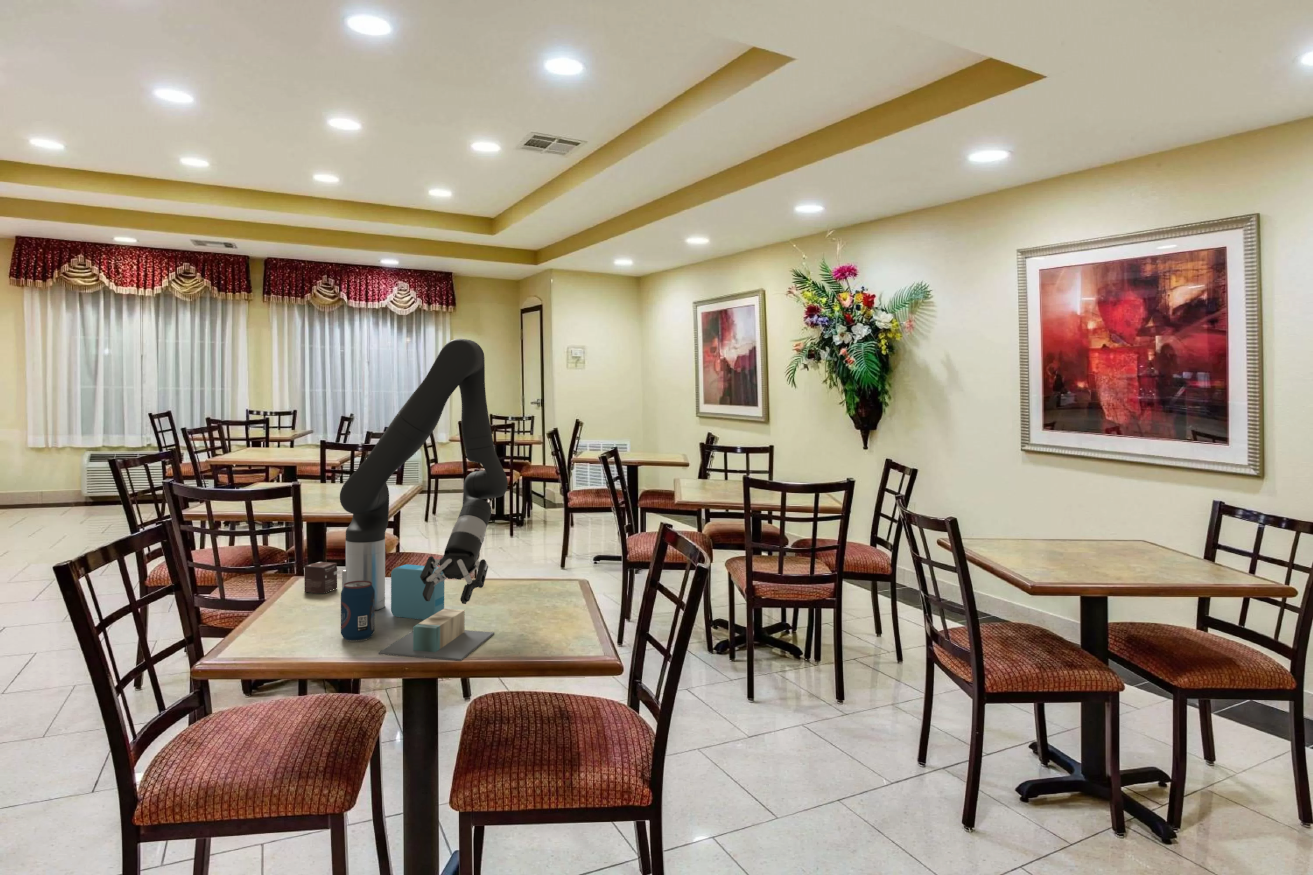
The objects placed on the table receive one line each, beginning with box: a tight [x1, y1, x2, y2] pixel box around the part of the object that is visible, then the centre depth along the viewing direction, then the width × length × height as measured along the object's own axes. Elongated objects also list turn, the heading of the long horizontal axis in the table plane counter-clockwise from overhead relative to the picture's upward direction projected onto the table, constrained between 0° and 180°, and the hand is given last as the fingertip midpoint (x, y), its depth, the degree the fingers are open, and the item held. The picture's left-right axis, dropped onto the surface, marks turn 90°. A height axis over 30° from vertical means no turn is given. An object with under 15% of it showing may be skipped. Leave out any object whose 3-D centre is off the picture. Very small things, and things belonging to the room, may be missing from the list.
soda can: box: [340, 581, 376, 642], centre depth 168 cm, size 7×7×12 cm
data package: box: [390, 563, 445, 621], centre depth 185 cm, size 12×4×12 cm, turn 74°
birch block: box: [412, 608, 466, 652], centre depth 166 cm, size 5×5×14 cm
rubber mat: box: [378, 629, 495, 662], centre depth 165 cm, size 18×18×1 cm
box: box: [304, 561, 338, 594], centre depth 207 cm, size 6×6×7 cm
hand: (444, 600), depth 167 cm, fingers open, 8 cm apart
